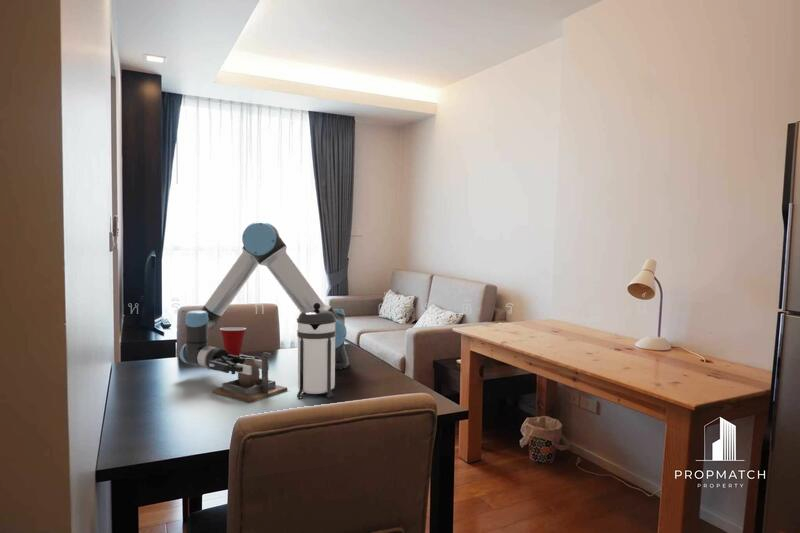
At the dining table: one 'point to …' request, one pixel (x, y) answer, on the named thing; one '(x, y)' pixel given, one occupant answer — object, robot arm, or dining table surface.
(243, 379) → the vase
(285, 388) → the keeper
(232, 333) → the plastic cup
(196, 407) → the dining table surface
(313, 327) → the coffee press
